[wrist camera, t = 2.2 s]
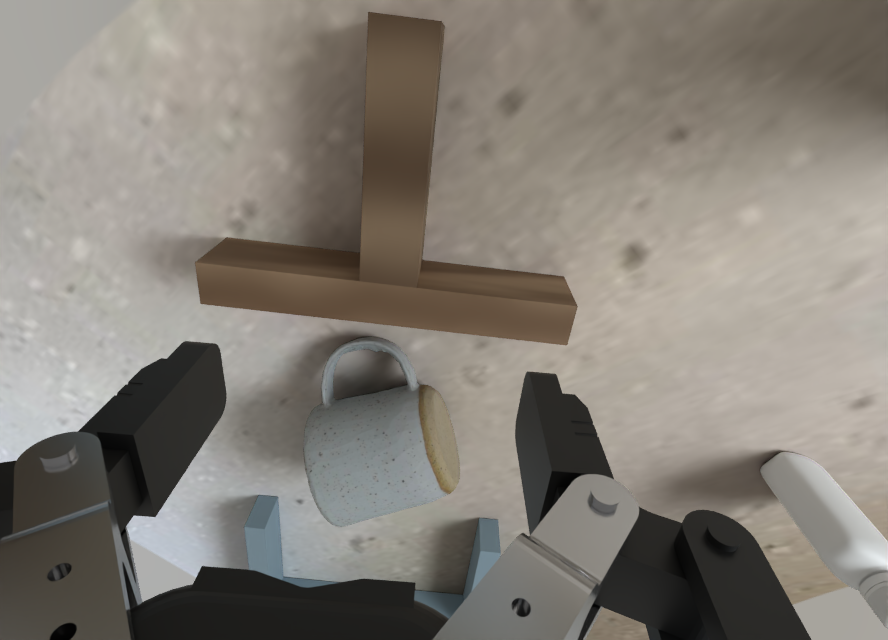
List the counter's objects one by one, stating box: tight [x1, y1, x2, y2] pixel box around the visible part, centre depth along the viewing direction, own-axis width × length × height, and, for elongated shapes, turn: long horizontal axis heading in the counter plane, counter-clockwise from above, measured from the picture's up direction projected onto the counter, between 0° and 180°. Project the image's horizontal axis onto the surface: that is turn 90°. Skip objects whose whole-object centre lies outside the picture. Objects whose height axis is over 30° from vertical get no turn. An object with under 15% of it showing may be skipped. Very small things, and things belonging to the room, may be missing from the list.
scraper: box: [195, 12, 577, 345], centre depth 25 cm, size 14×20×4 cm
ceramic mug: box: [303, 337, 460, 527], centre depth 31 cm, size 11×8×8 cm
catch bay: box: [244, 495, 501, 619], centre depth 41 cm, size 12×19×3 cm, turn 84°
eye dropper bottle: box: [760, 452, 888, 628], centre depth 31 cm, size 4×6×12 cm
